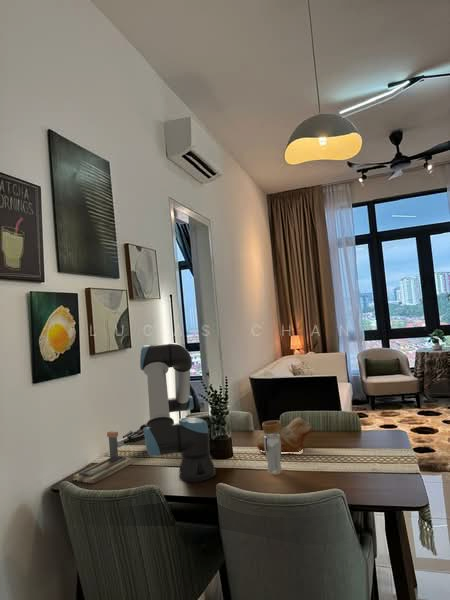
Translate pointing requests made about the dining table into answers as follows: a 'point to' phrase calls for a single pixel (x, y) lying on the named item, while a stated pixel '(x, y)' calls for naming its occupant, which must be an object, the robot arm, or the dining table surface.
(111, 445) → the fader lever
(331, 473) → the dining table surface
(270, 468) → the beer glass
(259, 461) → the dining table surface
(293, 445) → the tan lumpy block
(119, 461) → the fader console
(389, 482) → the dining table surface
